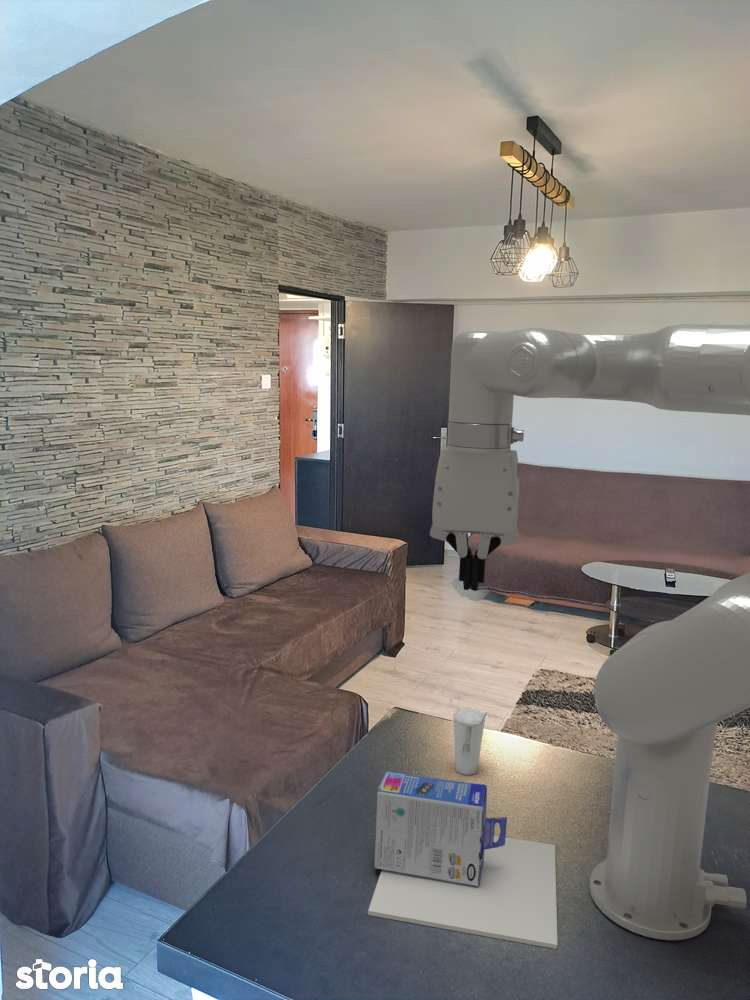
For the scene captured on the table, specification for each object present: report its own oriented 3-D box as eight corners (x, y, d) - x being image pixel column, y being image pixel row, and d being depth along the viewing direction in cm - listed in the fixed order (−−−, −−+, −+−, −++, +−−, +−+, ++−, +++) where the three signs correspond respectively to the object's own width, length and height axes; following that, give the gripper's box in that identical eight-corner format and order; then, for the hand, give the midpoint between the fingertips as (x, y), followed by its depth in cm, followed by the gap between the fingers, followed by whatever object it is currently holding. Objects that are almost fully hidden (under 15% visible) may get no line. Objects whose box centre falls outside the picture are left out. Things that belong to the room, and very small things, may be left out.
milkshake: (472, 783, 107) (476, 716, 105) (444, 768, 111) (447, 703, 109) (492, 772, 110) (496, 708, 108) (464, 758, 114) (468, 695, 112)
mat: (554, 848, 92) (554, 845, 92) (557, 949, 76) (557, 944, 76) (397, 824, 96) (397, 820, 96) (368, 914, 80) (368, 910, 80)
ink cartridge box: (383, 842, 92) (504, 864, 88) (372, 870, 87) (500, 895, 83) (386, 766, 90) (509, 786, 87) (375, 790, 85) (506, 813, 82)
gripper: (543, 438, 92) (533, 585, 95) (421, 433, 95) (416, 575, 98) (543, 443, 85) (532, 601, 88) (411, 437, 88) (405, 590, 91)
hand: (471, 587), depth 93 cm, fingers closed
